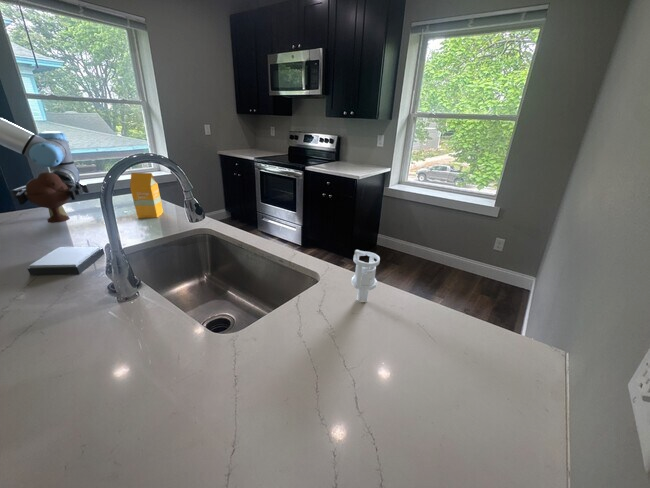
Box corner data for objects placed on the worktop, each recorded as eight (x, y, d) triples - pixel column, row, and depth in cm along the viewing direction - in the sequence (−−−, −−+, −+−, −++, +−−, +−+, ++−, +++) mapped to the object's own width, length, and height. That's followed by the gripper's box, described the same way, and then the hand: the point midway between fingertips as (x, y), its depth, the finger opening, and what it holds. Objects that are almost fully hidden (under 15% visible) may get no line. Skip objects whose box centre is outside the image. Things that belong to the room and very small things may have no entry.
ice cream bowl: (76, 211, 101) (61, 167, 95) (82, 220, 94) (67, 173, 88) (34, 218, 95) (16, 171, 88) (38, 228, 88) (17, 178, 81)
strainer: (357, 290, 90) (362, 245, 84) (378, 298, 87) (384, 252, 80) (345, 300, 85) (349, 254, 79) (367, 310, 81) (372, 262, 75)
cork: (46, 218, 134) (37, 194, 129) (59, 213, 139) (51, 190, 134) (58, 219, 133) (49, 195, 128) (70, 215, 138) (62, 191, 133)
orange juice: (144, 212, 145) (135, 171, 136) (163, 212, 146) (155, 171, 137) (137, 217, 138) (126, 174, 129) (157, 217, 139) (148, 175, 130)
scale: (29, 275, 91) (25, 266, 90) (61, 254, 104) (58, 246, 102) (79, 274, 93) (76, 265, 91) (104, 253, 105) (102, 245, 104)
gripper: (103, 188, 112) (98, 205, 95) (19, 195, 101) (-3, 215, 84) (98, 168, 109) (92, 181, 92) (10, 173, 98) (-15, 189, 81)
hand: (46, 197), depth 88 cm, fingers closed on ice cream bowl, 11 cm apart
